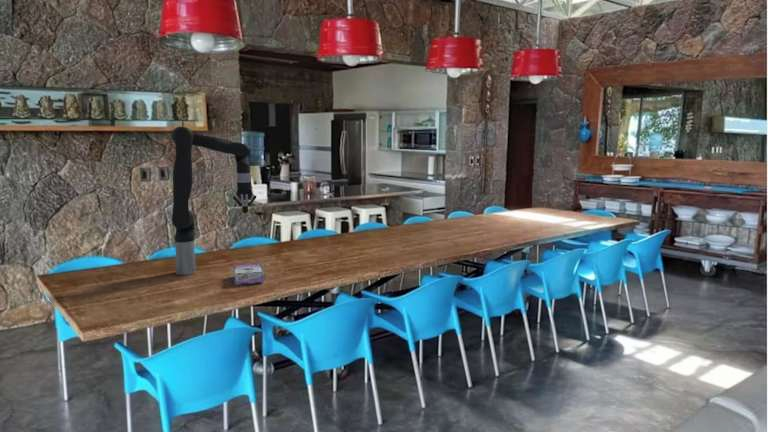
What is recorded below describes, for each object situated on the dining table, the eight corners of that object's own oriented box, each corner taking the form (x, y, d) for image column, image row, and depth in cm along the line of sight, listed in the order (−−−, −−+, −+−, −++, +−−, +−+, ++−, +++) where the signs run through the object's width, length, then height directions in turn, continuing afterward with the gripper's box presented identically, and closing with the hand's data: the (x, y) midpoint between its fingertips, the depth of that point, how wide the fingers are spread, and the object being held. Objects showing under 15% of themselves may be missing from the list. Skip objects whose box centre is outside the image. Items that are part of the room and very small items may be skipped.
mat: (226, 282, 262) (226, 281, 262) (228, 277, 271) (228, 277, 271) (264, 280, 265) (264, 280, 265) (265, 276, 273) (265, 275, 273)
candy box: (234, 276, 272) (234, 285, 256) (233, 265, 271) (233, 273, 256) (262, 274, 276) (263, 283, 260) (261, 263, 275) (263, 271, 259)
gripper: (230, 182, 284) (232, 214, 286) (256, 181, 285) (257, 213, 288) (232, 180, 291) (233, 212, 294) (257, 180, 293) (258, 211, 296)
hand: (245, 213), depth 291 cm, fingers closed
